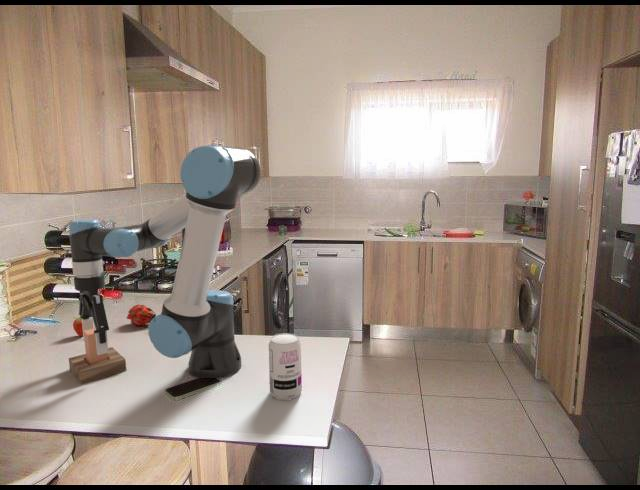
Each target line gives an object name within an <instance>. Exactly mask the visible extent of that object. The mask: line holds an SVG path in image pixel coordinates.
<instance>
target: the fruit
mask: <svg viewBox="0 0 640 490" xmlns="http://www.w3.org/2000/svg"><path fill="white" fill-rule="evenodd" d="M72 318H73V319H75V320H74V321H73V323H72V326H73V330H74V332H75V333H76V334H77V336H79V337H83V327H82V320H83V319H81V315H79V317H74V316H73V317H72Z"/></svg>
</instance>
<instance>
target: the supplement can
mask: <svg viewBox="0 0 640 490" xmlns="http://www.w3.org/2000/svg"><path fill="white" fill-rule="evenodd" d="M268 369H269V371H268V372H269V374H268V375H269V393H270V395H271V396H272V397H273V398H274V399H276V398H277V399H276V400H279V399H280V400H279V401H289V399H290V400H293V398H294V399H296V398H297V397H298V396H299V395H300V394H301V393H302V390H303V389H302V388H303V387H302V385H303V384H302V382H303V381H302V343H301V340H300V338H299V336H298V335H296V334H294V333H286V332H285V333H277V334H275V335H273V336H271V338H270V341H269V343H268Z"/></svg>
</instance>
